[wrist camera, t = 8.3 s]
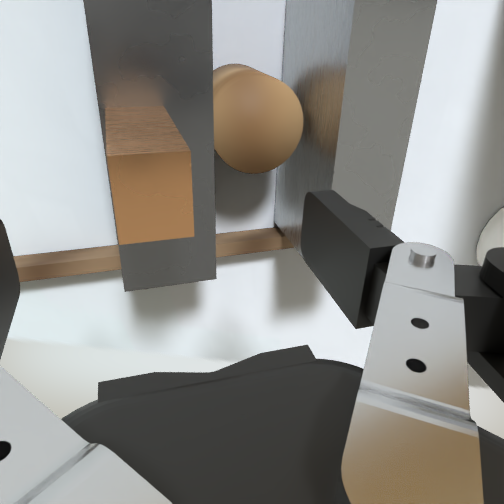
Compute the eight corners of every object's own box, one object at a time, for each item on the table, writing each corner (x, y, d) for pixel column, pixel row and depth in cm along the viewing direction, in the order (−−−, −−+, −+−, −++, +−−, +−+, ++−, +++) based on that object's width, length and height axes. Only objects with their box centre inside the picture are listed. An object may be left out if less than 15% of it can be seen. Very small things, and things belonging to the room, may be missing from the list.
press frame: (359, -76, 24) (373, -80, 23) (322, 233, 33) (331, 242, 32) (-143, -119, 18) (-161, -128, 17) (-15, 273, 27) (-21, 287, 26)
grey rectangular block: (355, -43, 25) (449, -59, 18) (324, 215, 33) (382, 270, 26) (288, -47, 24) (362, -66, 17) (274, 221, 31) (320, 280, 25)
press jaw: (185, -54, 22) (268, -109, 11) (196, 232, 30) (252, 364, 19) (79, -61, 20) (54, -131, 10) (120, 240, 28) (132, 388, 18)
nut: (274, 63, 26) (307, 75, 22) (270, 145, 29) (299, 170, 25) (192, 64, 25) (210, 76, 21) (195, 150, 27) (212, 176, 23)
